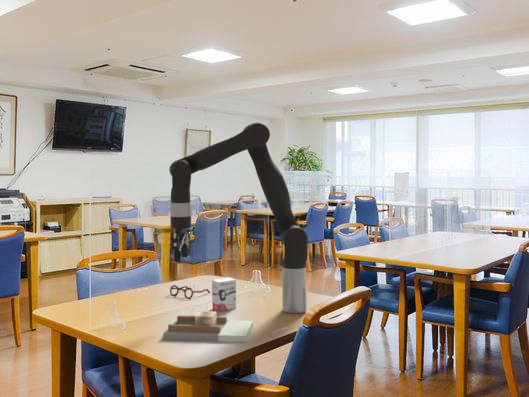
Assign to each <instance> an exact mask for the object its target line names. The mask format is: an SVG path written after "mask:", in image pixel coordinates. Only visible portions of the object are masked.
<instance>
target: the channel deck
mask: <svg viewBox="0 0 529 397" xmlns="http://www.w3.org/2000/svg"><path fill="white" fill-rule="evenodd" d="M195 316H196V315H181V314H179V315H177V316H176V320H175V321H174V322H172V324H171V323H170V324H168V325H167V329H166V330H165V331H164V332H163V333H162V337H163V338H162V340H169V339H172V340H174V341H201V342H202V341H203V342H204V341H205V342H225V343H226V342H228V343H229V342H231V343H232V342H233V343H247V340H248V339H249V336H250V335H251V333H252V330H253V329H254V321H253V320H229V319H228V317H227V316H217V325H216V326H212V325H195Z"/></svg>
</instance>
